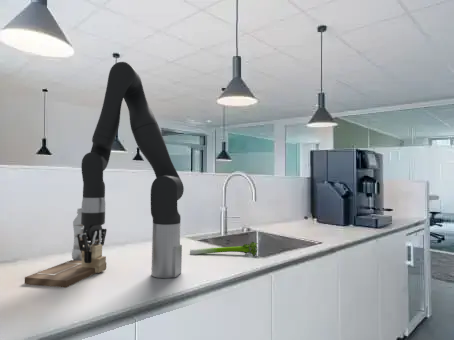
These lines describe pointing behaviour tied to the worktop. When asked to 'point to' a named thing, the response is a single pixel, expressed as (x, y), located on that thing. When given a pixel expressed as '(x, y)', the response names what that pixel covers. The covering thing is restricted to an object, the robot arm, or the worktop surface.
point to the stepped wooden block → (95, 259)
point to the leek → (227, 249)
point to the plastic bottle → (77, 230)
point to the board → (61, 275)
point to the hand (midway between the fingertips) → (91, 260)
